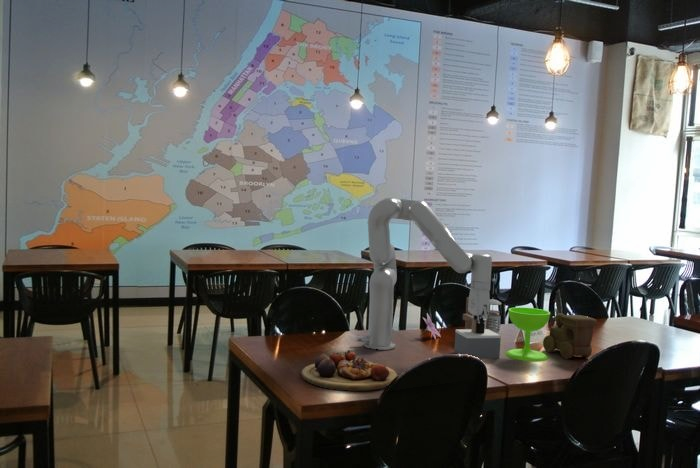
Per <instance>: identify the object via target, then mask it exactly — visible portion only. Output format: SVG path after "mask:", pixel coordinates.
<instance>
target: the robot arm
mask: <svg viewBox="0 0 700 468" xmlns="http://www.w3.org/2000/svg"><path fill="white" fill-rule="evenodd" d="M392 219H396V220H404V221H411V222H413V223H414V225H415V226H416V227H417V228H418V229H419V231H421V232H422V233H423V235H424V236H425V237H426V238H427V240H428V241H429V242H430V243H431V245H433V247H434V248H435V249H436V250H437V252H438V253H439V254H440V255H441V256H442V258H443V259H444V261H446V262H447V263H448V265H449V266H450V267H451V268H452V269H453V270H454V271H455V272H456V273H459V274H465V273H468V272H469V271H471V272H470V273H471V274H470V275H471V276H470V289H469V295H468V297H469V302H468V311H469V312H470V313H471V314H472V319H478V321H477V322H478V323H476V333H477V334H483V333H484V326H485V321H486V319H488V315H489V307H490V306H491V305H490V297H491V296H490V291H491V281H492V262H493V259H492V258H493V257H492V255H490V254H486V253H470V252H465V251H464V250H463V249H462V248H461V246H460V245H459V244H458V243H457V241H456V240H455V239H454V237H453V235H452V234H451V231H450V230H449V229H448V227H447V225H445V224H444V222H442V220H441V219H440V218H439V217H438V216H437V215H436V213H435V212H434V211H433V210H432V209H431V206H430V205H429V204H428V203H427V202H426V201H424V200H413V199H407V198H406V199H403V198H398V197H397V198H396V197H386V198H384V199H382V200H379V201H378V202H377V203H376V204H375V205H373V207H372V208H371V210H370V212H369V214H368V220H367V231H368V249H369V250H368V251H369V252H368V253H369V254H368V255H369V258H370V260H371V262H372V264H373V272H372V273H371V276H370V279H369V307H368V309H369V310H368V311H369V313H368V328H367V329H368V331H367V333H366V334H365V335H363V336H356V339H355V341H356V342H361V343H363V346H364V347H365V348H367V349H370V348H371V349H370V350H376V349H378V350H379V351H382V350H383V351H386V350H387V351H388V350H393V349H395V348H396V344H395V343H394V342H393V341H392V337H393V319H394V318H393V317H394V315H393V314H394V290H395V289H394V287H395V285H396V283H397V279H398V278H397V277H398V275H397V274H398V273H397V260H396V257H397V256H396V250H395V247H394V245H393V244H392V243H391V237H390V236H391V235H390V221H391V220H392ZM481 314H483V315H481ZM480 317H481V318H480ZM378 350H377V351H378Z"/></svg>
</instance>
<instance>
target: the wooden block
mask: <svg viewBox="0 0 700 468" xmlns="http://www.w3.org/2000/svg"><path fill="white" fill-rule="evenodd" d="M468 302H469V296H467V297H466V302H465V303H466V305H465V314H469V315H471V316H472V314H471V313H470V312H469V311H468ZM490 310H491V308H490V307H489V312H490ZM481 315H483V314H481ZM489 320H490V318H489V315H488V319H486V329H488V327H489V325H490V324H489V322H490V321H489ZM464 321H465V320H464ZM464 323H465V325H464V329H472V324H471V323H469V322H467V321H465V322H464Z"/></svg>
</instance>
